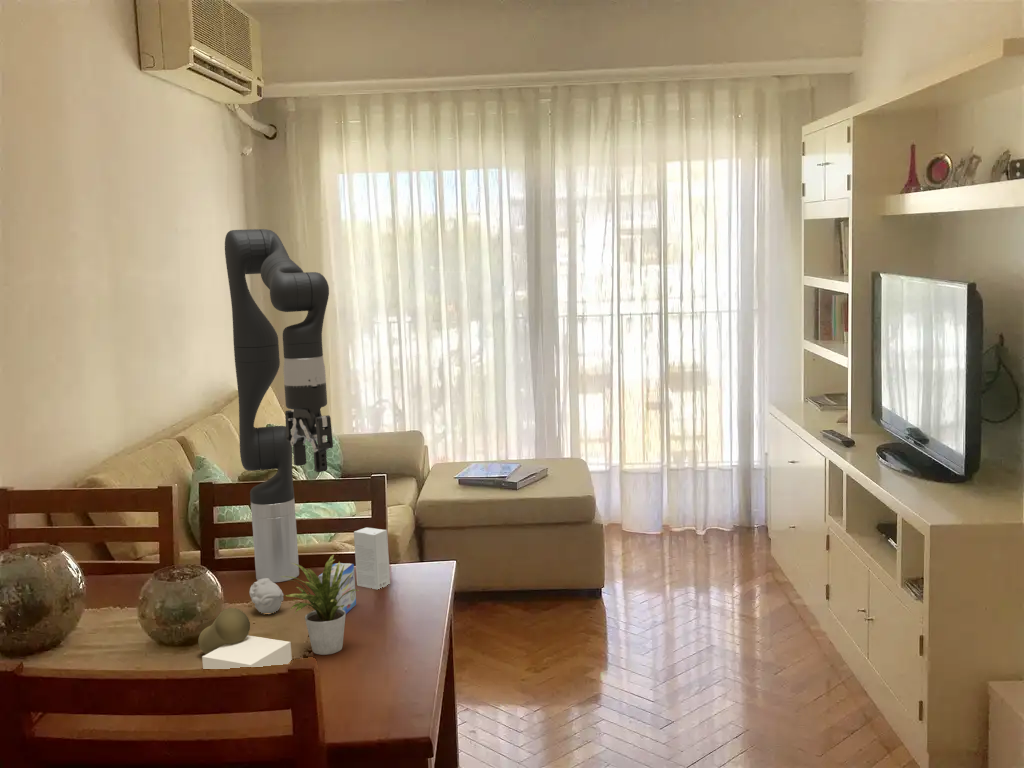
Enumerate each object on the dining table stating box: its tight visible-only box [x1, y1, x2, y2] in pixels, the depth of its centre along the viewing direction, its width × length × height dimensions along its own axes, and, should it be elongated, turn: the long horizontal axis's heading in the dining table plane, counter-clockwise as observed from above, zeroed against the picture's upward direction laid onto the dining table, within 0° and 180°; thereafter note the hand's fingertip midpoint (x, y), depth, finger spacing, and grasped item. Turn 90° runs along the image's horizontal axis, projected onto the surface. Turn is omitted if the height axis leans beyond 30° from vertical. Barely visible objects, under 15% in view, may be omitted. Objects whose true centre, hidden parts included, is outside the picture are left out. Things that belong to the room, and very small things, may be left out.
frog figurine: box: [249, 578, 285, 614], centre depth 186 cm, size 6×7×7 cm
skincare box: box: [353, 527, 391, 591], centre depth 201 cm, size 6×4×12 cm
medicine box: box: [317, 562, 357, 615], centre depth 186 cm, size 8×4×9 cm, turn 168°
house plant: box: [283, 554, 360, 656], centre depth 168 cm, size 14×14×16 cm
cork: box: [197, 607, 251, 655], centre depth 164 cm, size 6×6×11 cm
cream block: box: [201, 634, 293, 670], centre depth 157 cm, size 10×10×5 cm
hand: (310, 468), depth 176 cm, fingers open, 8 cm apart
